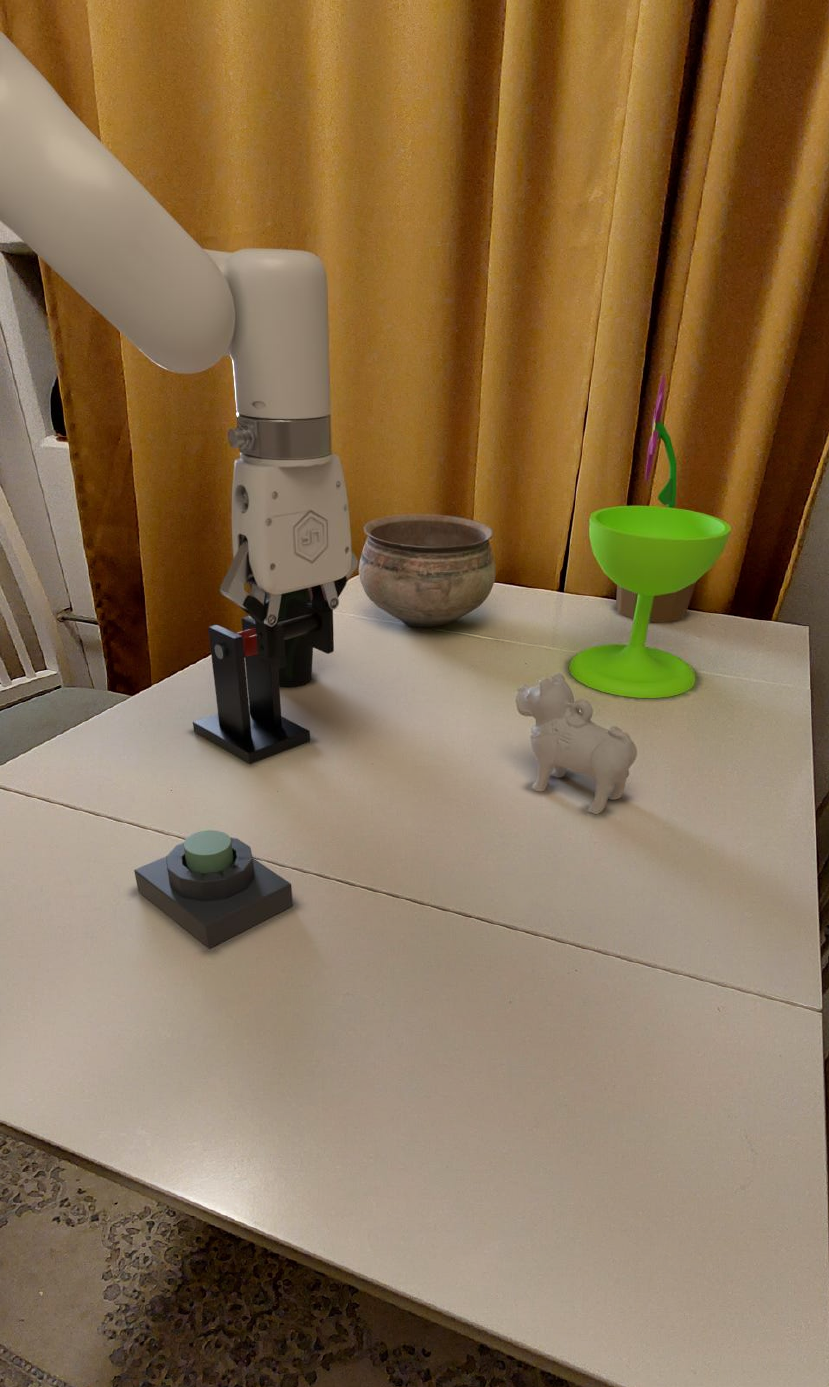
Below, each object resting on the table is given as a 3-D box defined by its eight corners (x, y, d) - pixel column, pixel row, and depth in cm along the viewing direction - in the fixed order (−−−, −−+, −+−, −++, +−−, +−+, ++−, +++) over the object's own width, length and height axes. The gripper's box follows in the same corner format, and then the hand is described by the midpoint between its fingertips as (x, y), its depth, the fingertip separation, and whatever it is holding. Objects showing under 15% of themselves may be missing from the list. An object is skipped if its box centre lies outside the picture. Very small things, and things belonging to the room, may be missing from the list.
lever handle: (325, 632, 82) (317, 606, 81) (282, 645, 79) (274, 618, 78) (260, 653, 91) (252, 629, 90) (220, 664, 88) (211, 640, 87)
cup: (244, 677, 107) (234, 576, 99) (291, 661, 111) (286, 563, 104) (285, 696, 103) (278, 591, 95) (333, 678, 107) (330, 577, 100)
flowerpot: (603, 592, 138) (638, 369, 120) (696, 601, 136) (746, 374, 118) (600, 622, 127) (638, 380, 109) (702, 631, 125) (758, 387, 107)
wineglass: (714, 669, 113) (751, 520, 102) (665, 709, 103) (699, 548, 92) (602, 641, 121) (625, 499, 110) (545, 675, 110) (564, 522, 99)
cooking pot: (505, 652, 116) (514, 555, 109) (363, 652, 115) (362, 554, 107) (478, 593, 136) (484, 508, 128) (356, 593, 134) (355, 507, 127)
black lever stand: (310, 740, 94) (305, 631, 86) (249, 764, 89) (238, 650, 82) (253, 711, 99) (244, 606, 92) (193, 731, 94) (179, 622, 87)
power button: (177, 860, 68) (174, 841, 67) (215, 843, 70) (213, 825, 69) (203, 879, 66) (201, 860, 65) (242, 862, 68) (240, 843, 67)
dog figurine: (524, 759, 92) (536, 660, 85) (635, 798, 86) (656, 694, 79) (496, 777, 88) (505, 675, 82) (608, 819, 82) (628, 712, 76)
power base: (137, 892, 71) (129, 850, 68) (220, 855, 76) (215, 815, 73) (209, 949, 65) (203, 906, 63) (293, 906, 70) (290, 864, 68)
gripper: (225, 457, 64) (247, 692, 76) (392, 435, 74) (389, 646, 85) (169, 442, 69) (197, 667, 80) (334, 423, 78) (339, 626, 89)
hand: (296, 654), depth 82 cm, fingers closed on lever handle, 5 cm apart
